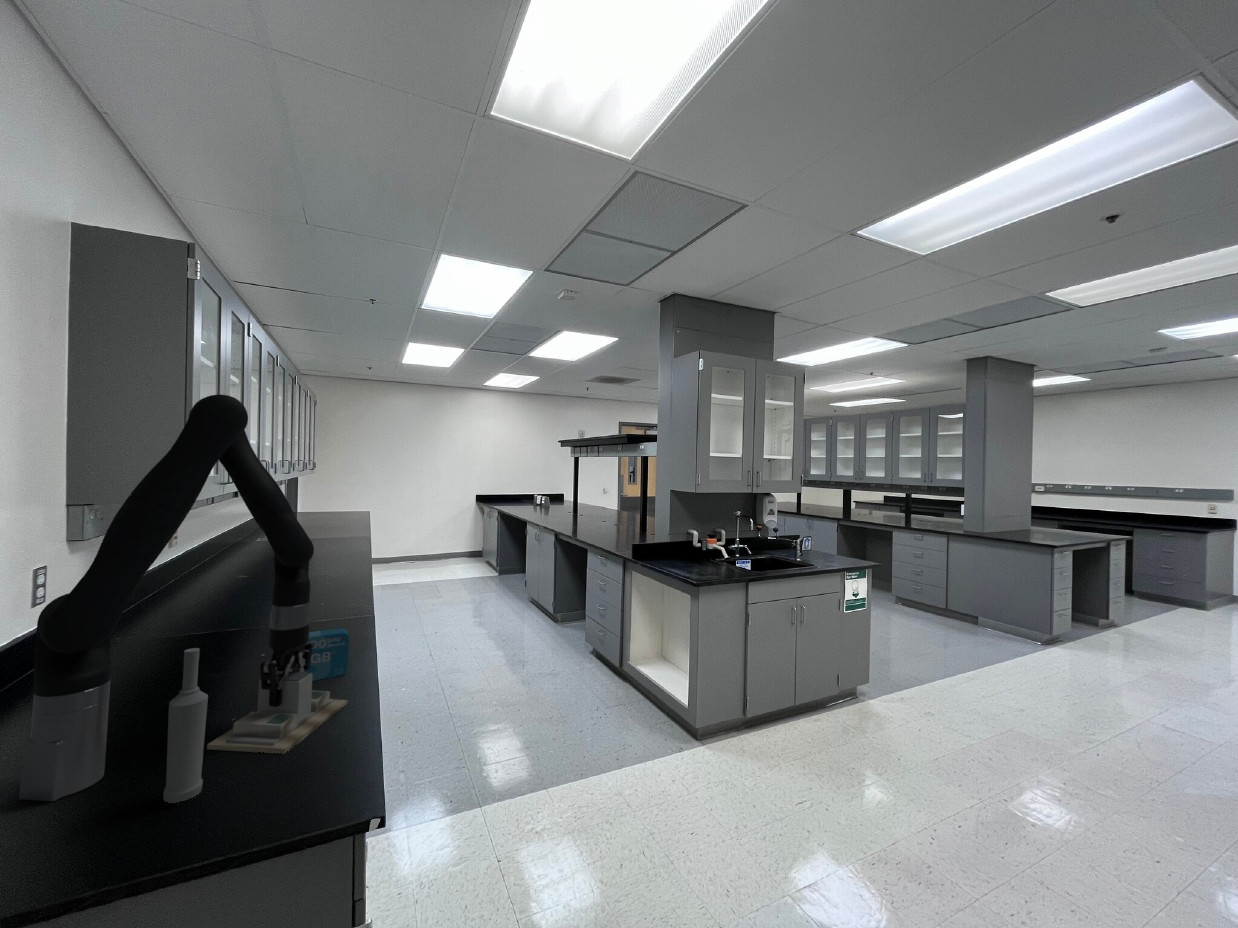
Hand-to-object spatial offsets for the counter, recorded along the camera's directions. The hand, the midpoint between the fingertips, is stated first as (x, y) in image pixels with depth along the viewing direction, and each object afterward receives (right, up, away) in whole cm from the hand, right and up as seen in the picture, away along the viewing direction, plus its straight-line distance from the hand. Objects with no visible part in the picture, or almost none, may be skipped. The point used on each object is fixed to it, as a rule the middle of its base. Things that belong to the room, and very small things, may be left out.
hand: (285, 698), depth 112 cm
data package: (-7, -6, +26) cm, 28 cm away
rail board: (0, -6, 0) cm, 6 cm away
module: (0, -4, 0) cm, 4 cm away
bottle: (-1, -5, -25) cm, 26 cm away
